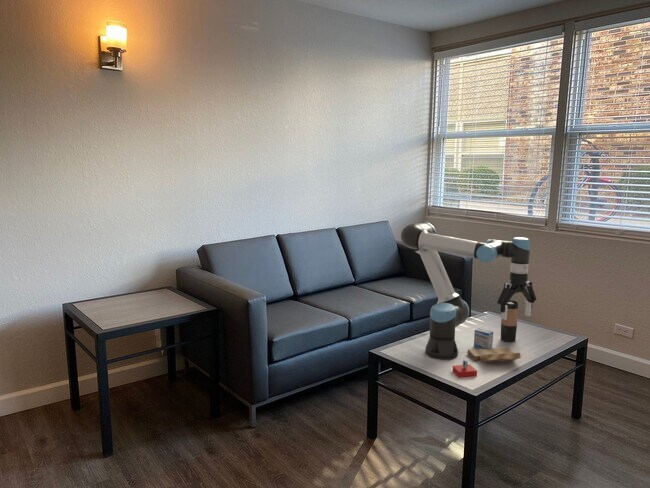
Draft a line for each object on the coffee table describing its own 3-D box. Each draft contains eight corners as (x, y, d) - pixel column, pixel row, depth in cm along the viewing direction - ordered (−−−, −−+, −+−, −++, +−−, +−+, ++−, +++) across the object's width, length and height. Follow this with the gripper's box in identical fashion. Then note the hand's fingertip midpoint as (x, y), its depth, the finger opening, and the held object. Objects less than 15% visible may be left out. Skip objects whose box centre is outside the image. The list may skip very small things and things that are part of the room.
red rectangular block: (469, 370, 225) (470, 356, 223) (476, 376, 218) (477, 362, 217) (452, 371, 223) (453, 358, 222) (459, 378, 217) (459, 364, 216)
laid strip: (474, 361, 234) (474, 356, 234) (467, 354, 242) (467, 349, 241) (515, 358, 236) (516, 353, 236) (507, 352, 244) (507, 347, 244)
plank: (486, 360, 226) (485, 354, 227) (480, 361, 233) (479, 356, 233) (520, 358, 228) (519, 352, 229) (513, 359, 235) (512, 354, 235)
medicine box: (473, 346, 252) (474, 330, 250) (477, 344, 255) (478, 327, 253) (488, 350, 246) (489, 333, 245) (492, 348, 249) (493, 331, 248)
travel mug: (518, 342, 257) (520, 304, 253) (502, 342, 257) (505, 304, 253) (512, 337, 264) (515, 300, 261) (498, 337, 264) (500, 300, 261)
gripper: (502, 276, 221) (499, 323, 225) (547, 271, 230) (543, 316, 234) (490, 272, 228) (488, 317, 232) (534, 268, 237) (531, 312, 241)
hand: (515, 317), depth 233 cm, fingers open, 13 cm apart
